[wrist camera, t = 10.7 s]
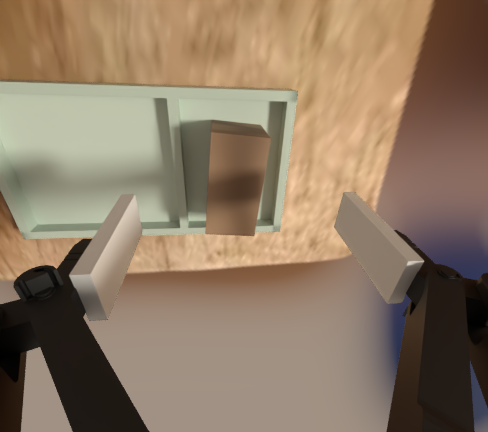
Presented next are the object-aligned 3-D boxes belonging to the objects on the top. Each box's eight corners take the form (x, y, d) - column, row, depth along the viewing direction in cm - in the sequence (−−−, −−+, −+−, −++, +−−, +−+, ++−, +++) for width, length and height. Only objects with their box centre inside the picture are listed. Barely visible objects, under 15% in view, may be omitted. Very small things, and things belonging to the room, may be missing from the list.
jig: (-29, 78, 20) (-54, 79, 18) (291, 89, 23) (298, 91, 21) (36, 226, 27) (23, 238, 26) (275, 221, 30) (279, 231, 28)
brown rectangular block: (206, 207, 27) (205, 234, 23) (211, 119, 23) (211, 132, 19) (247, 209, 28) (254, 236, 24) (260, 124, 24) (271, 138, 19)
